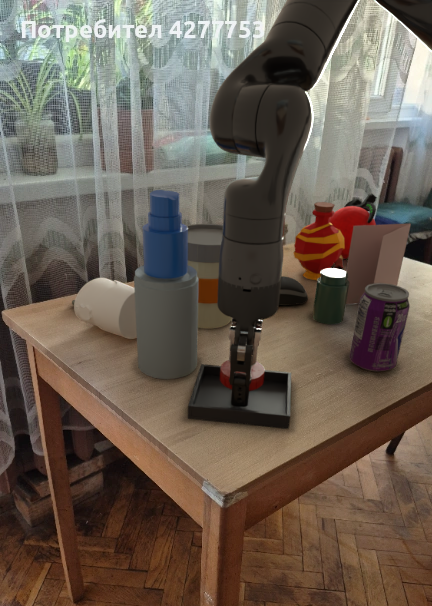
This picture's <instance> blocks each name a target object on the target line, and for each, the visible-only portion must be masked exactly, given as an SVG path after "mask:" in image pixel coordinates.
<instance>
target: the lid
mask: <svg viewBox="0 0 432 606" xmlns="http://www.w3.org/2000/svg"><path fill="white" fill-rule="evenodd" d="M220 366H221V369H220V381H221V383H222V384H223V385H224V386H225V387H227V388H229V389H232V385H230V382H229V378H230V362H229V359H227V360H225V361H224V362H222V364H220ZM265 370H266V369H265V367H264V365H263V364H262V363H260V362H259V361H256V364H255V365H253V366H252V371H251V377H252V381H251V384H250V386H249V391H252V390H255V389H258V388H259V387H261V386H262V384H263V382H264V373H265ZM236 373H245V372H236Z"/></svg>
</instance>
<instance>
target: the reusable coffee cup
mask: <svg viewBox="0 0 432 606" xmlns="http://www.w3.org/2000/svg"><path fill="white" fill-rule="evenodd" d="M185 225H186V226H187V228H188V265H189V266H191V267H193V268H194V269H196V271H197V276H198V279H199V282H198V329H204V330H205V329H206V330H207V329H218V328H222V327H225V326H227V325H228V324H230V323H231V322H232V318H231V317H229V316H226V315H225V314H223V313H222V312H221V311H220V310H219V308H218V305H217V301H218V275H219V253H220V247H221V241H222V231H223V224H217V223H193V224H185Z"/></svg>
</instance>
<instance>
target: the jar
mask: <svg viewBox="0 0 432 606" xmlns="http://www.w3.org/2000/svg"><path fill="white" fill-rule="evenodd" d="M320 274H321V277H319V278H318V279H317V280H316V286H315V291H314V292H315V293H314V300H313V307H312V315H311V318H312V319H313V320H314V321H315V322H317V323H321V324H323V325H324V324H325V325H338V324H341V323H342V322H343V321H344V318H345V313H346V306H347V304H346V302H347V296H348V290H349V284H350V282H349V281H348V280H347V278H348V273H347V272H346V270H344V269H343V270H340V269H335V267H333V268H332V267H331V268H329V269H324V270H322V271H321V272H320Z"/></svg>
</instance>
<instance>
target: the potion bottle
mask: <svg viewBox="0 0 432 606" xmlns="http://www.w3.org/2000/svg"><path fill="white" fill-rule="evenodd" d="M313 205H314V209H313V210H312V213H311V214H312V215H313V216H315V220H314V222H312V223H310V224H307V225H305V226H304V227H302V228H301V229H300V231H299V232H298V233H297V234H296V235H295V241H294V245H293V246H294V251H293V257H294V259H297V260H298V262H299V263H300V265H301V267H302V268H303V269H304V270H305V271H304V273H303V274H302V276H303V277H304V278H306V279H307V280H313V281H317V279H318V278H319V277H321V274H320V272H321V271H322V270H324V269H329V268H332V266H334V265H335V262H336V261H337V259H338V258H339V257H340V255H341V252H342V250H343V249H345V245H344V237H343V235H342V233H341V231H340V230H339V229H337V228H335V227H333V226H332V224H331V223H329V220H330V217H332V216H333V215H334V213H335V211H334V208H335V206H336V204H334V203H332V202H326V201H317V202H315V203H313Z"/></svg>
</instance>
